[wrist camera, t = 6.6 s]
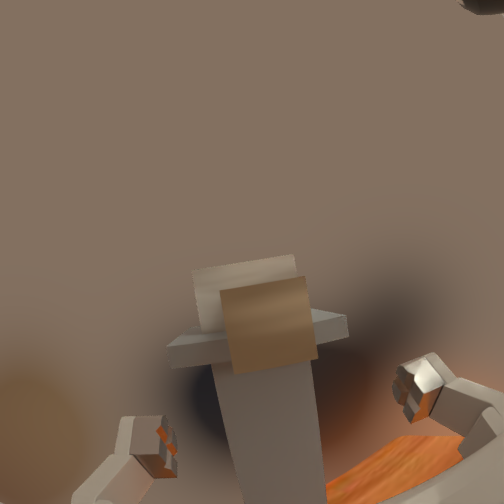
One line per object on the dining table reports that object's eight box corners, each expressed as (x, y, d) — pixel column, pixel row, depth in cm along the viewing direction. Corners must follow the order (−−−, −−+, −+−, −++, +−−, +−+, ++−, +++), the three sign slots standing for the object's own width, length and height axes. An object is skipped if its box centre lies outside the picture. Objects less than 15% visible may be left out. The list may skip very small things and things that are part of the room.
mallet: (207, 327, 28) (198, 274, 28) (292, 312, 28) (283, 260, 29) (165, 383, 10) (141, 244, 10) (379, 341, 10) (357, 211, 11)
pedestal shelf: (333, 526, 27) (307, 307, 30) (357, 575, 16) (345, 315, 19) (245, 543, 26) (189, 327, 29) (249, 598, 15) (165, 346, 19)
